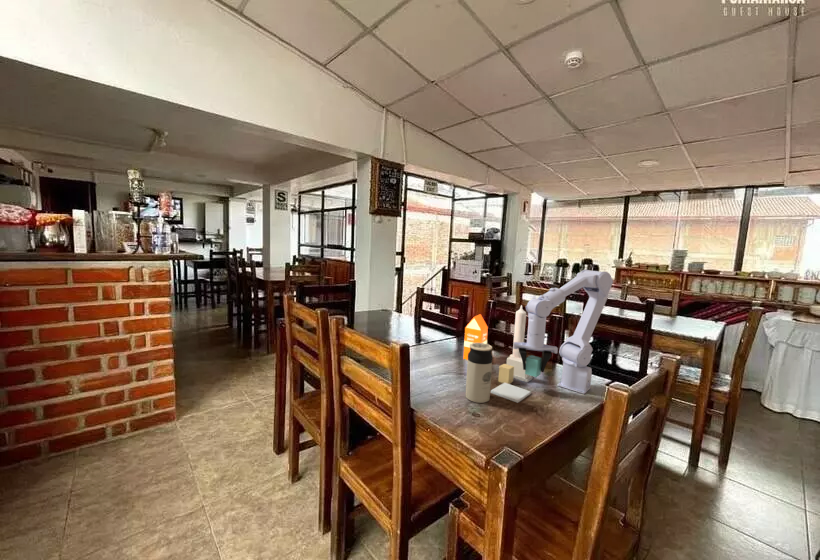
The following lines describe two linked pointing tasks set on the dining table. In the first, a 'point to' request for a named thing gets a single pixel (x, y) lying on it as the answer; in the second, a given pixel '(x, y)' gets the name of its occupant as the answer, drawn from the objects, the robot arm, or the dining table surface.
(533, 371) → the teal block
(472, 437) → the dining table surface
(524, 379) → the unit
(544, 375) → the dining table surface
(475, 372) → the travel mug
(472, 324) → the orange juice
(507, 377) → the ochre block
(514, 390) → the mat
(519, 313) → the candle
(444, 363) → the dining table surface
